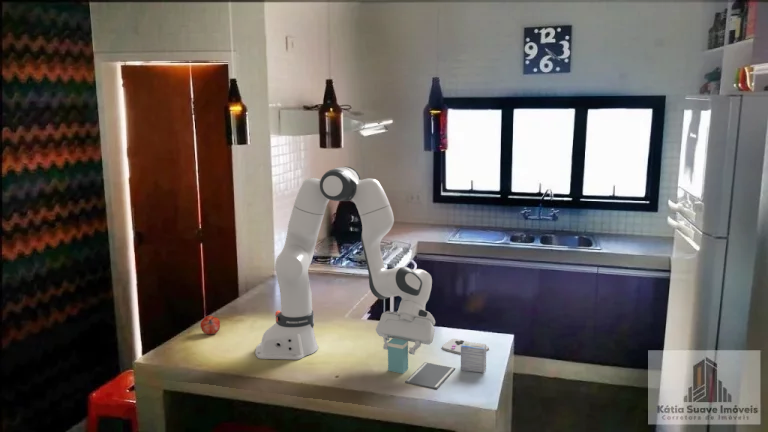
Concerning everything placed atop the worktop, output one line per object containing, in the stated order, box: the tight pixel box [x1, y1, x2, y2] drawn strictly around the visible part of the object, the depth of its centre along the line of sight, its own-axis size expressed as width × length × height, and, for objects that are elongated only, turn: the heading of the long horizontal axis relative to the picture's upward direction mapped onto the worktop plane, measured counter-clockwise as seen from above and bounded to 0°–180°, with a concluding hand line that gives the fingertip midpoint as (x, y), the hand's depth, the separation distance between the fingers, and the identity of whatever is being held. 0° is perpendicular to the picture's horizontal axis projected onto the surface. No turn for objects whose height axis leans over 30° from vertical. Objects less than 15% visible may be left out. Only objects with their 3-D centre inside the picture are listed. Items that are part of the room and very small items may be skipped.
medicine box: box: [460, 341, 487, 374], centre depth 203 cm, size 8×4×9 cm, turn 71°
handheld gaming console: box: [441, 338, 490, 355], centre depth 220 cm, size 10×2×15 cm
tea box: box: [387, 338, 409, 375], centre depth 203 cm, size 4×6×10 cm
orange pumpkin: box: [200, 315, 221, 335], centre depth 239 cm, size 7×7×10 cm
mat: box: [404, 362, 456, 390], centre depth 199 cm, size 16×11×1 cm
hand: (398, 351), depth 203 cm, fingers open, 8 cm apart
